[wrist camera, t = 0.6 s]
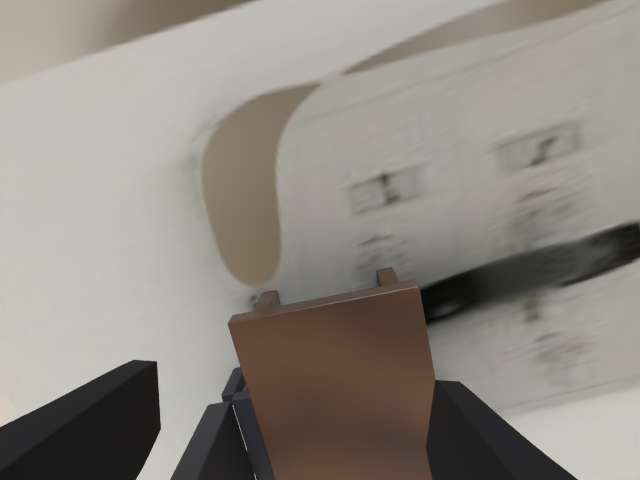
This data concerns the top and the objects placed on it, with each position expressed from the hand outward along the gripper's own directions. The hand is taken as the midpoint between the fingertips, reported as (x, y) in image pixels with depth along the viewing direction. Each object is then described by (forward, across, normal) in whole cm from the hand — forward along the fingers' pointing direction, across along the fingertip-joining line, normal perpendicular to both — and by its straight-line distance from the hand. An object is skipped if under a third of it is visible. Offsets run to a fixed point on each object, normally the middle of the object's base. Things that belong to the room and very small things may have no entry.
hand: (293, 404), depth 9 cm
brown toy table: (+10, -2, +6) cm, 12 cm away
